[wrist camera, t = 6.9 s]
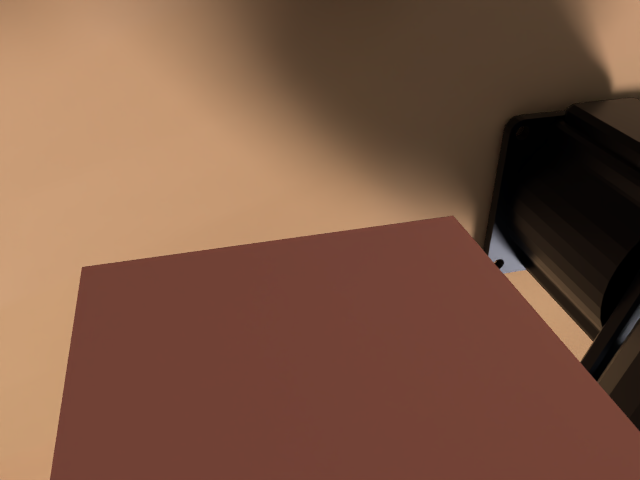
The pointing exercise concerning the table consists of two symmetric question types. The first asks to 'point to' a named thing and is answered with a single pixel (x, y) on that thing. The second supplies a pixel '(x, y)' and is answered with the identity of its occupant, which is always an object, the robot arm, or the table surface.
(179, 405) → the red cube
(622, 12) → the table surface
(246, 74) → the table surface
